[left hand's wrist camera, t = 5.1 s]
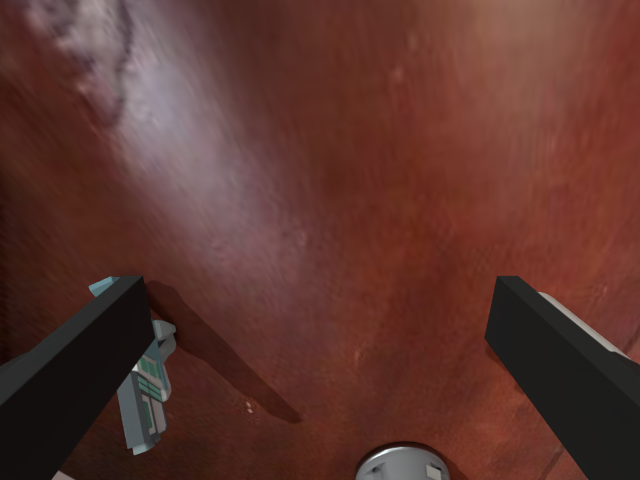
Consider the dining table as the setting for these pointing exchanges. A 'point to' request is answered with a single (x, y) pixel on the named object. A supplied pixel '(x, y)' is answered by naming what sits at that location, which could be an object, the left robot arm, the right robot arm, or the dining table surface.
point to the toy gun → (145, 386)
